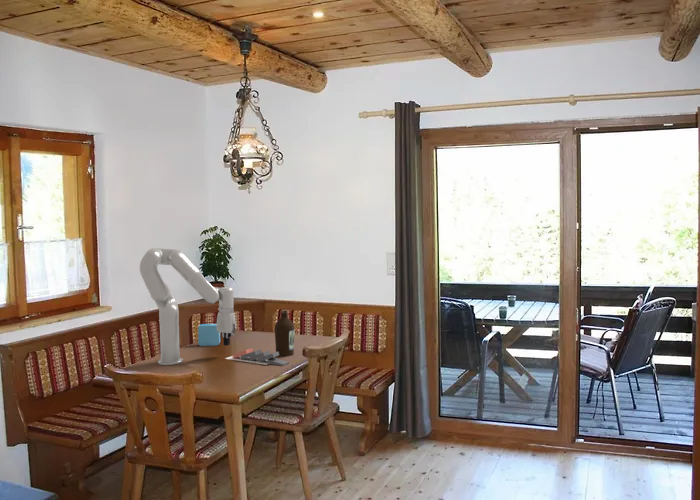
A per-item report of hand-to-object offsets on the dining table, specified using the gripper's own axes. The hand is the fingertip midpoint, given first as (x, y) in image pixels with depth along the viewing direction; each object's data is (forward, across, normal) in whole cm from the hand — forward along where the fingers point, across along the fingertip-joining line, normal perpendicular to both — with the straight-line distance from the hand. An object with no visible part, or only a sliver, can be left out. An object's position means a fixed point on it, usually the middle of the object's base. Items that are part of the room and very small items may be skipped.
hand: (226, 344), depth 344 cm
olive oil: (+7, +25, +18) cm, 32 cm away
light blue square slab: (+8, -31, +20) cm, 38 cm away
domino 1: (+5, +11, 0) cm, 12 cm away
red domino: (+5, +6, 0) cm, 8 cm away
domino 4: (+5, +28, +1) cm, 29 cm away
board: (+7, +16, 0) cm, 17 cm away
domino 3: (+5, +23, 0) cm, 23 cm away
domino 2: (+5, +17, 0) cm, 18 cm away
